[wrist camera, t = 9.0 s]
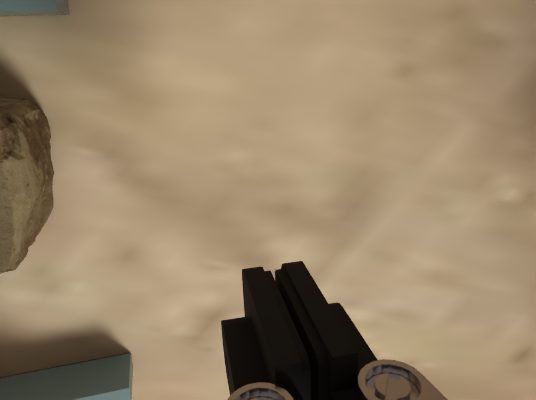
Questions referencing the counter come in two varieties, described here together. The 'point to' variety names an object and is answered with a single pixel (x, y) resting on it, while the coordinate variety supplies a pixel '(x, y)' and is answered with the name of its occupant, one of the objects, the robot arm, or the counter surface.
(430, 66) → the counter surface
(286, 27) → the counter surface
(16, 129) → the stone block
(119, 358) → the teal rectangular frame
